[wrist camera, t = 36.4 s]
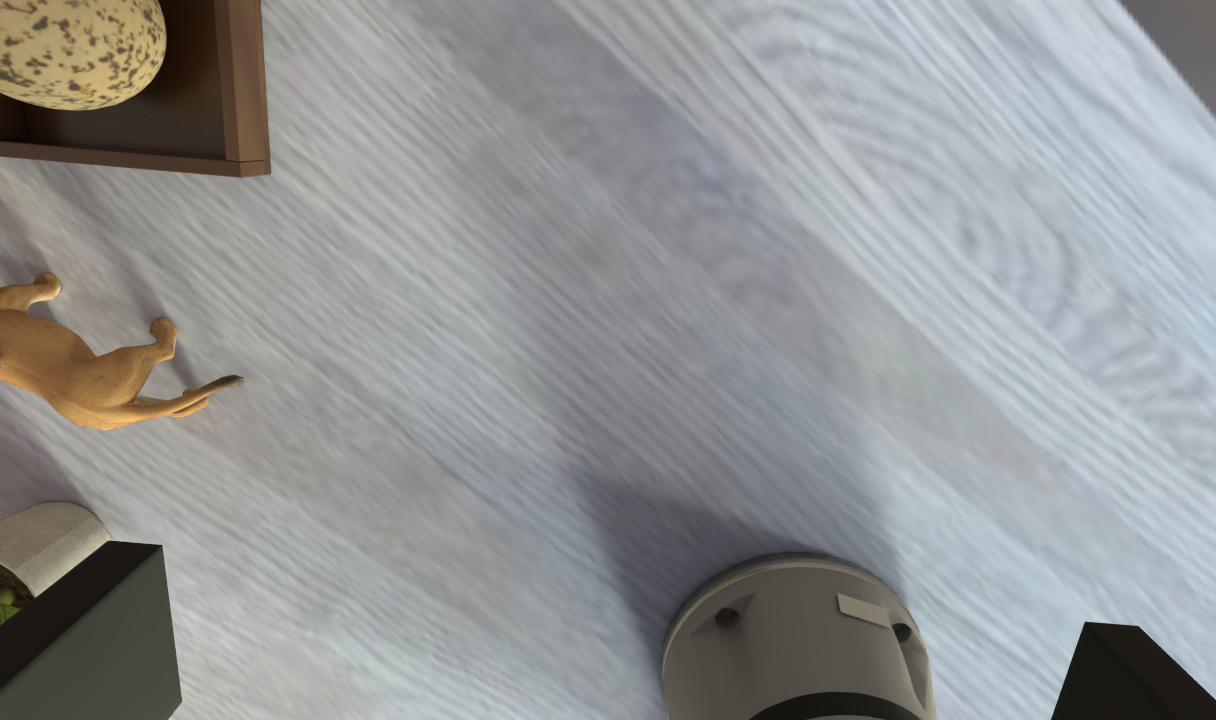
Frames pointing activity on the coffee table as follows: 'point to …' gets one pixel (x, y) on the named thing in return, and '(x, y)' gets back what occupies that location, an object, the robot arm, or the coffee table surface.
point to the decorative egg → (79, 51)
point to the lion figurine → (87, 365)
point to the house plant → (43, 550)
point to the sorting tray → (168, 104)
